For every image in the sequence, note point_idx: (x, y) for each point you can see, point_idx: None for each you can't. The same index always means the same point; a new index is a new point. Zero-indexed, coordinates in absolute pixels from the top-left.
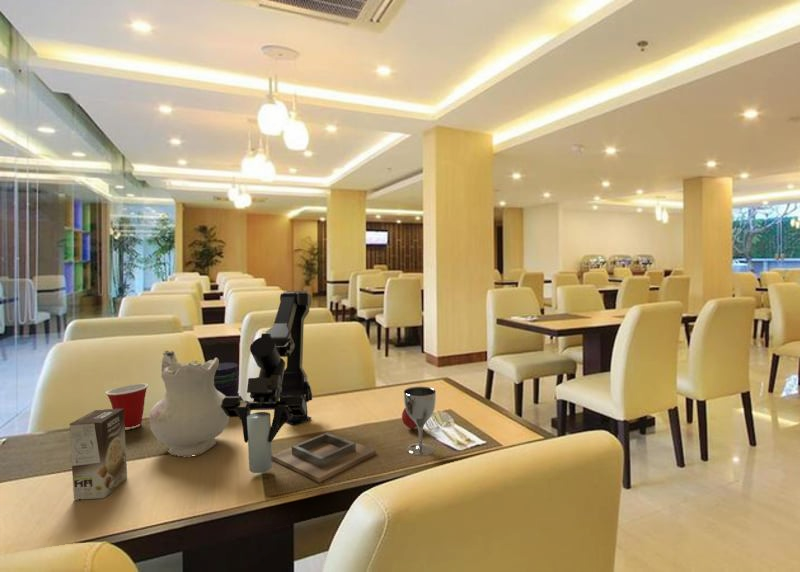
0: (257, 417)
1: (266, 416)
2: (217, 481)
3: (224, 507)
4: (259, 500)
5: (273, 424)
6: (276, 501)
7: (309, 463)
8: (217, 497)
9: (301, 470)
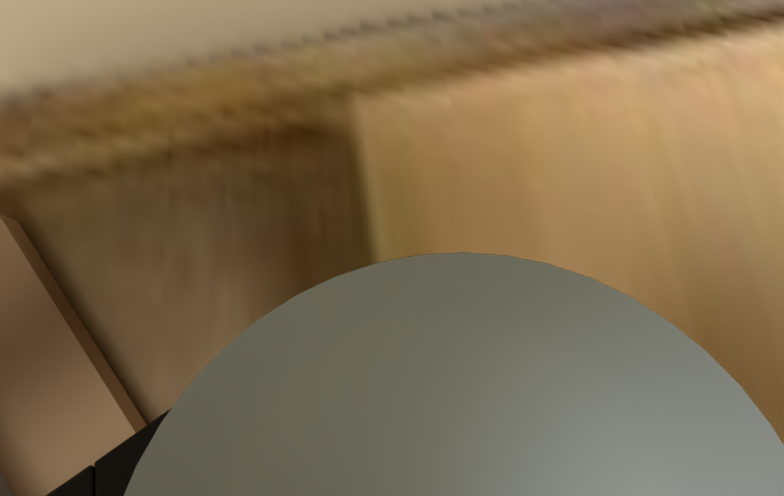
0: (491, 472)
1: (215, 488)
2: None
3: (574, 77)
4: (387, 102)
5: None
6: (289, 70)
7: (20, 478)
8: (646, 194)
9: (100, 375)
